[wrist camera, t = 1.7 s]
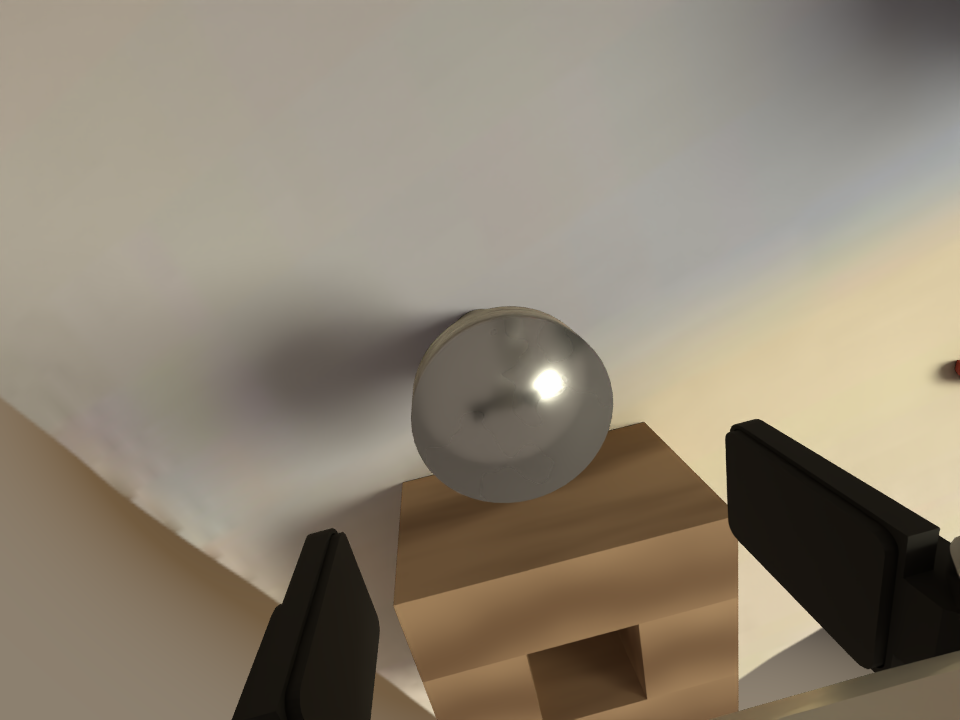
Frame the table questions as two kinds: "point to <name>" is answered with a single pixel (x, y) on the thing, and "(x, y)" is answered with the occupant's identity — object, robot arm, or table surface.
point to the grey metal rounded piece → (509, 405)
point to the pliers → (957, 367)
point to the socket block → (575, 594)
